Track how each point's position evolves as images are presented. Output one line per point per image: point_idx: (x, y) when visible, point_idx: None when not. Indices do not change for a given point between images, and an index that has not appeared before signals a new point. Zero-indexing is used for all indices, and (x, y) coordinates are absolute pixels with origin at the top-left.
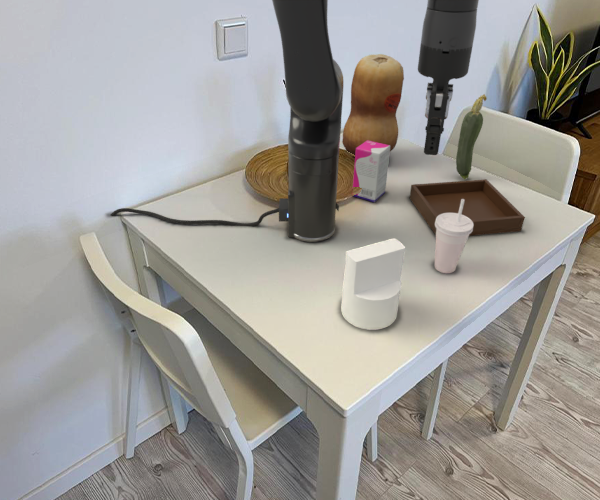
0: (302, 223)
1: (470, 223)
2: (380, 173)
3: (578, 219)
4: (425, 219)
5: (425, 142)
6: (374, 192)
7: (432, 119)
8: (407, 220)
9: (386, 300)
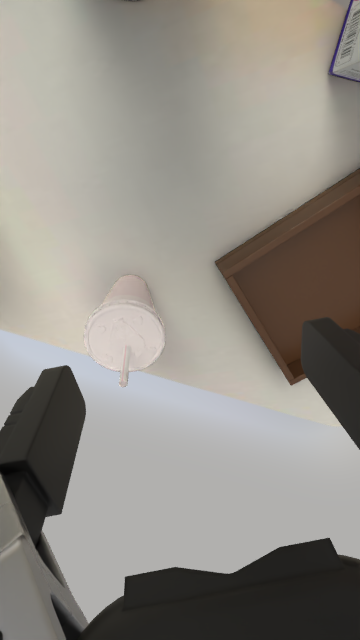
0: None
1: (136, 366)
2: None
3: (332, 420)
4: (274, 224)
5: (24, 409)
6: (347, 62)
7: (347, 386)
8: (264, 186)
9: None
